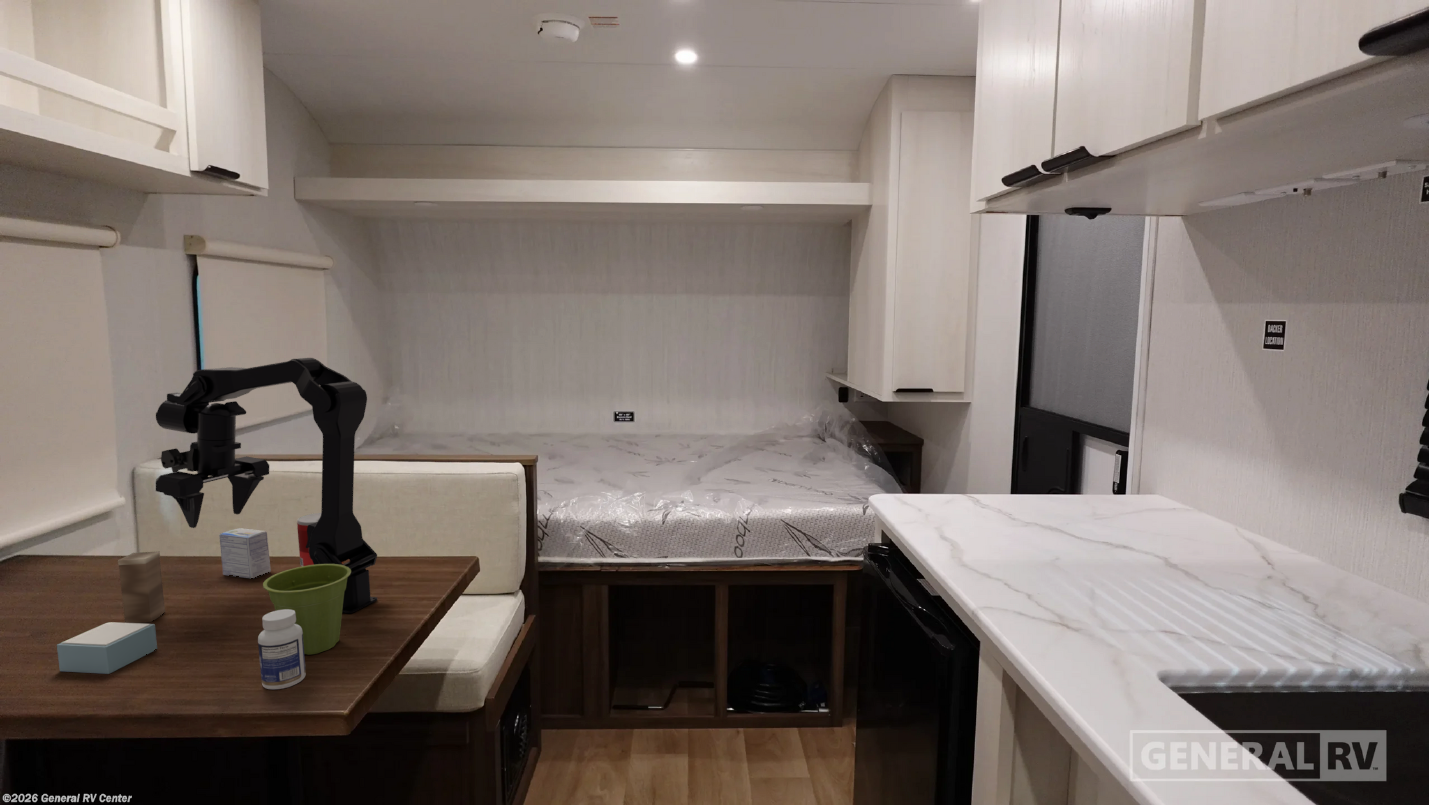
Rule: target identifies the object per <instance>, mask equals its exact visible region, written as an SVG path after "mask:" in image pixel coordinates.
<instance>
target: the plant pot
mask: <svg viewBox="0 0 1429 805" xmlns="http://www.w3.org/2000/svg"><path fill="white" fill-rule="evenodd" d="M350 574H351V569H350V568H349V567H347V566H344V565H339V564H317V565H308V566H302V567H301V566H298V567H294V568H289V569H286V570H283V571H280V572H277V573H276V574H272V575H271V576H270V577H268V578H267V579H265V580H264V582H263V583H262V588H263V589H264V590H265V591H267V592H268V595H269V599H270V601H271V603H272V604H273V606H274V607H273V608H274V611H277V610H283V609H290V610H294V611H295V614H296V622H295V623H294V624H297V625H299V626H300V627H301V628H302V632H303V644H304V655H309V656H311V655H317V654H320V653H322V652H325V651H328V650H330V649H331V648H334V647H335V646H336V644H337V643H338V642H339V641H340V637H341V636H340V635H341V628H342V627H341V625H342V617H343V612H342V608H343V599H344V591H345V589H346V584H347V577H349V575H350Z"/></svg>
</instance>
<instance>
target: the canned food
mask: <svg viewBox="0 0 1429 805" xmlns="http://www.w3.org/2000/svg"><path fill="white" fill-rule="evenodd" d="M320 516H321V512H316V513H311V514H307V515H303V516H300V517H298V518H297V522H296V526H297V528H296V530H297V539H298V540H297V541H298V550H299V564H300V566H299V567H302V566H308V565H314V563H313V561H312V559H311V558H310V556H309V548H306V545H307V540H308V537H307V527H308V525H310V524H313V523H315V522H318V520H319V518H320ZM344 562H345V561H344ZM344 562H342V564H345V563H344Z"/></svg>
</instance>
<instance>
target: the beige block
mask: <svg viewBox="0 0 1429 805" xmlns="http://www.w3.org/2000/svg"><path fill="white" fill-rule="evenodd" d="M160 556H161V552H160V551H145V552H144V551H143V552H132V553H131V554H128V555H126V556H124V557H122V558H120V559H118V560H117V564H118V570H119V580H120V589H121V598H122V608H123V610H122V611H123V618H124V623H138V624H147V623H152V622H154V621H155V620H157V619H159V618H160V617H161V616H163V615H164V614H165V613H166V609H165V598H164V596H165V595H164V590H163V588H164V587H163V578H162V568H161V557H160ZM164 612H165V613H164ZM163 613H164V614H163ZM162 614H163V615H162ZM160 615H161V616H160ZM153 620H154V621H153Z"/></svg>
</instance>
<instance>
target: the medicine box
mask: <svg viewBox="0 0 1429 805" xmlns="http://www.w3.org/2000/svg"><path fill="white" fill-rule="evenodd" d="M219 546H220V547H219V548H220V556H221V567H222V575H223V576H229V575H233V576H232V577H236V576H239V577H238V578H244V579H251V578H253V579H255V577H256V578H258V577H257V576H259V575H261V576H263V574H264V575H266V574H265V573H267V574H269V573H271V562H270V550H269V539H268V531H267V530H259V529H252V528H249V529H248V528H242V527H240V528H239V527H238V528H235V529H231V530H227V531H224V532H222V533H219ZM268 572H269V573H268ZM259 577H260V576H259Z"/></svg>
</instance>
